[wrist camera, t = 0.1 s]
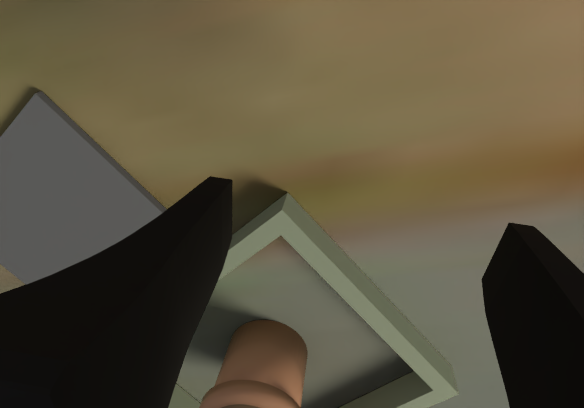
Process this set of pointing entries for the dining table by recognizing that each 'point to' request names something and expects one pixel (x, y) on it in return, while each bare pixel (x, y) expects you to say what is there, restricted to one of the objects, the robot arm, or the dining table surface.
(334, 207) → the dining table surface
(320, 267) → the pale green square frame
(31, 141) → the slate tile
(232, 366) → the seedling pot
